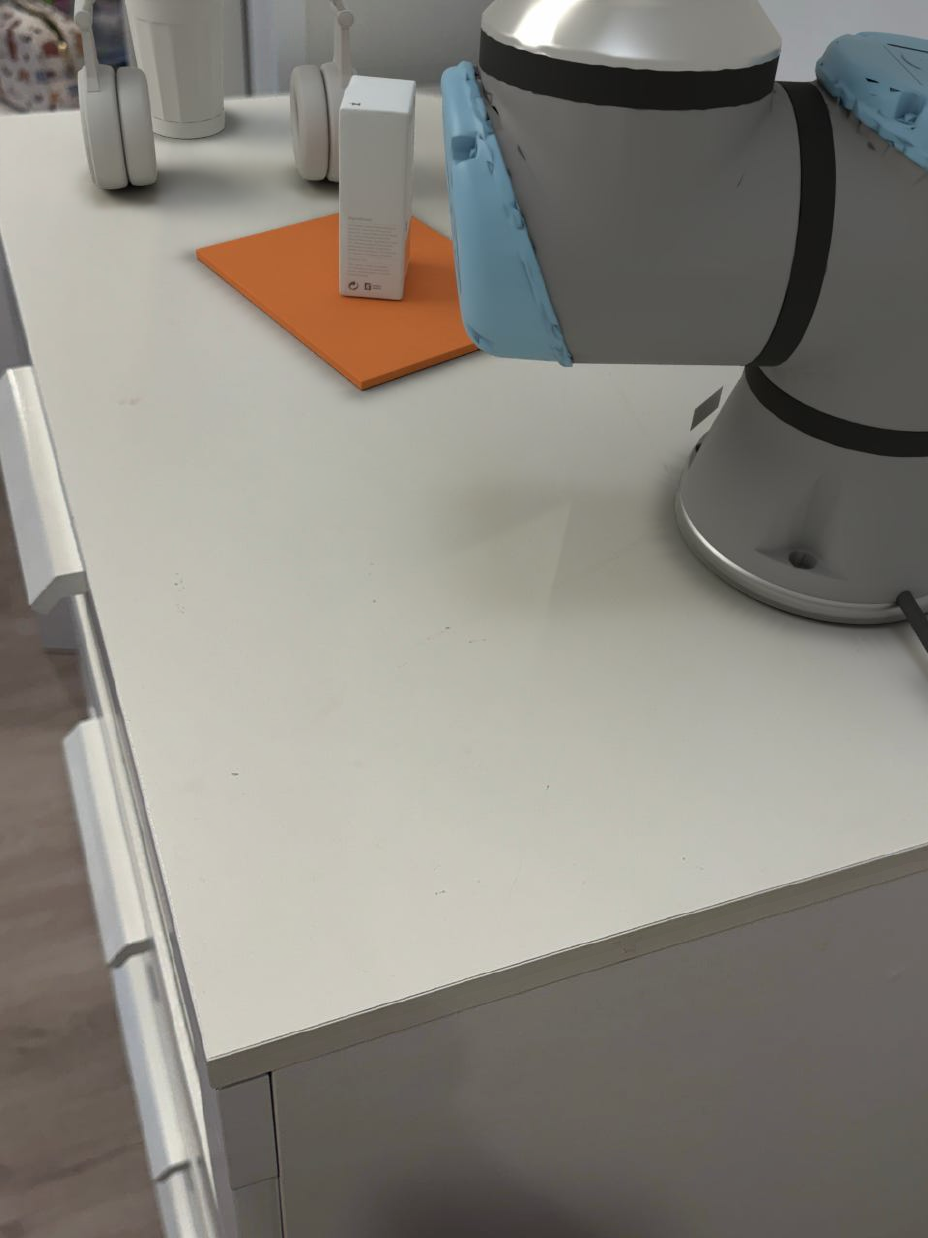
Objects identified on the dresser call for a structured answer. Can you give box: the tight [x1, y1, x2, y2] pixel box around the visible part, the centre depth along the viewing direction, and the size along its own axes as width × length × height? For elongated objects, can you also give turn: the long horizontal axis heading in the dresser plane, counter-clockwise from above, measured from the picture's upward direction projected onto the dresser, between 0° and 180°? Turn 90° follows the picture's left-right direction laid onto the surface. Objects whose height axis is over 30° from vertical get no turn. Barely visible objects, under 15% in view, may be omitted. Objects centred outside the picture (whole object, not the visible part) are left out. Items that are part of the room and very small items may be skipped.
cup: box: [124, 0, 226, 140], centre depth 94 cm, size 8×8×12 cm
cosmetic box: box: [338, 74, 417, 300], centre depth 75 cm, size 6×4×12 cm
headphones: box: [73, 0, 358, 190], centre depth 83 cm, size 20×8×19 cm, turn 103°
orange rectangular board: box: [195, 212, 481, 391], centre depth 79 cm, size 20×16×1 cm
